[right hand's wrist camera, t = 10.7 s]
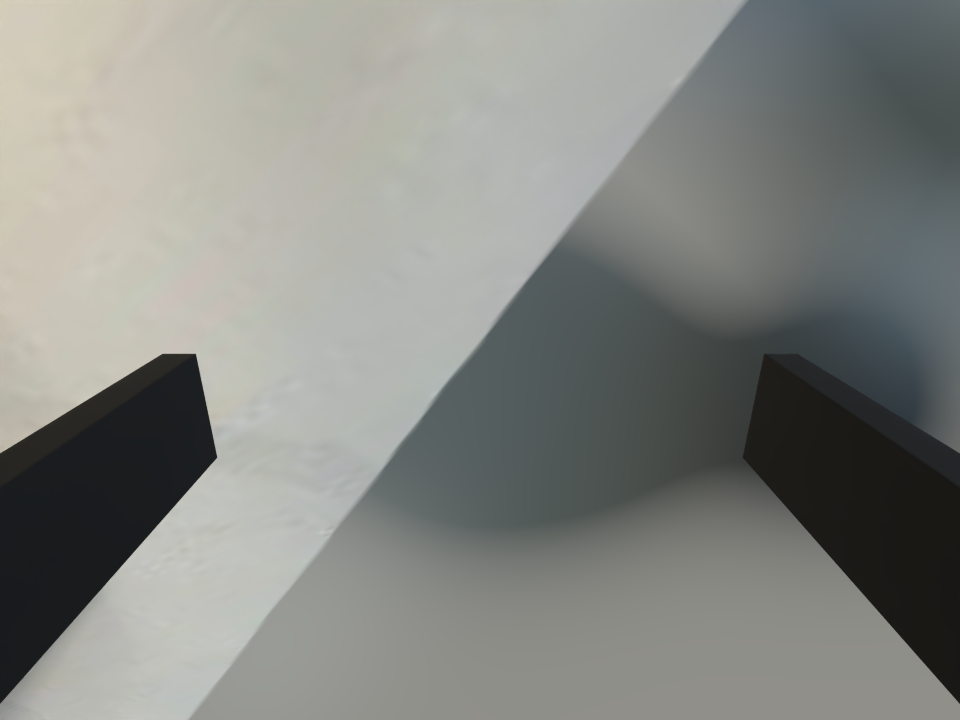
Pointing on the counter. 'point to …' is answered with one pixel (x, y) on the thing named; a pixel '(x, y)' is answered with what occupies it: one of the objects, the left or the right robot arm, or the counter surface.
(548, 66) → the counter surface
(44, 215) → the counter surface
